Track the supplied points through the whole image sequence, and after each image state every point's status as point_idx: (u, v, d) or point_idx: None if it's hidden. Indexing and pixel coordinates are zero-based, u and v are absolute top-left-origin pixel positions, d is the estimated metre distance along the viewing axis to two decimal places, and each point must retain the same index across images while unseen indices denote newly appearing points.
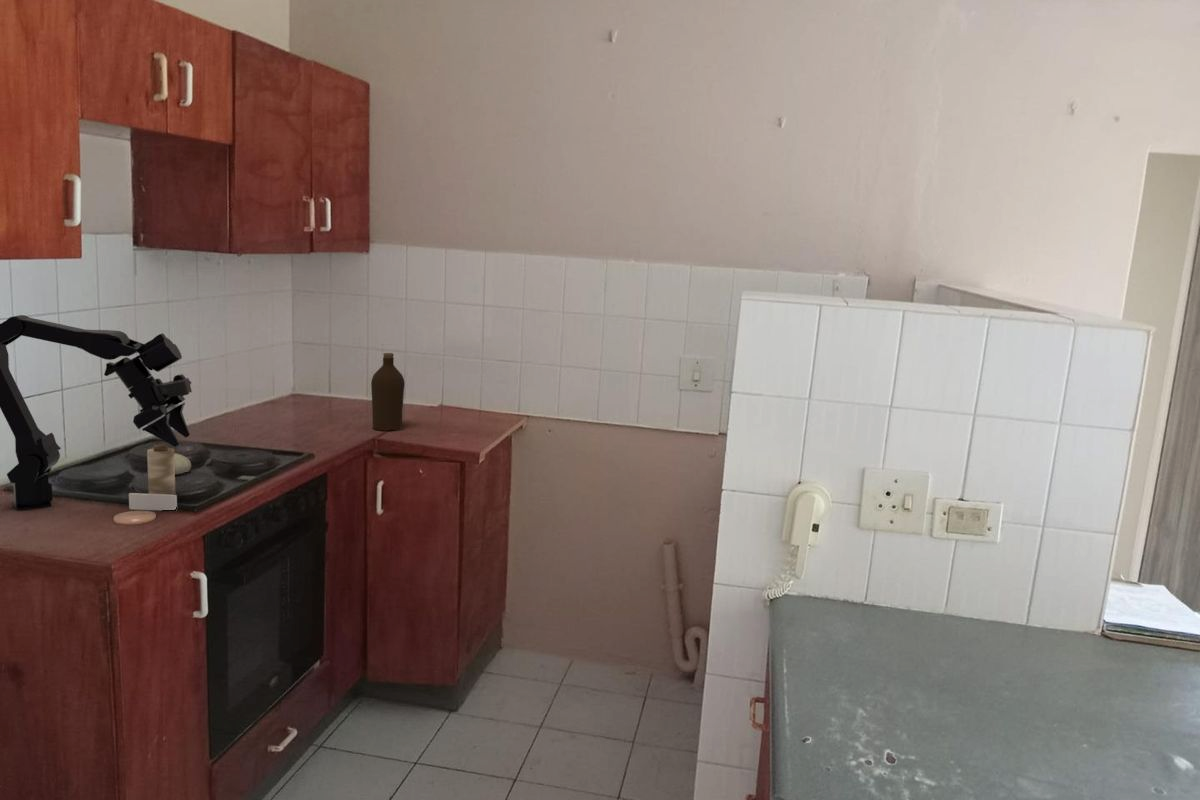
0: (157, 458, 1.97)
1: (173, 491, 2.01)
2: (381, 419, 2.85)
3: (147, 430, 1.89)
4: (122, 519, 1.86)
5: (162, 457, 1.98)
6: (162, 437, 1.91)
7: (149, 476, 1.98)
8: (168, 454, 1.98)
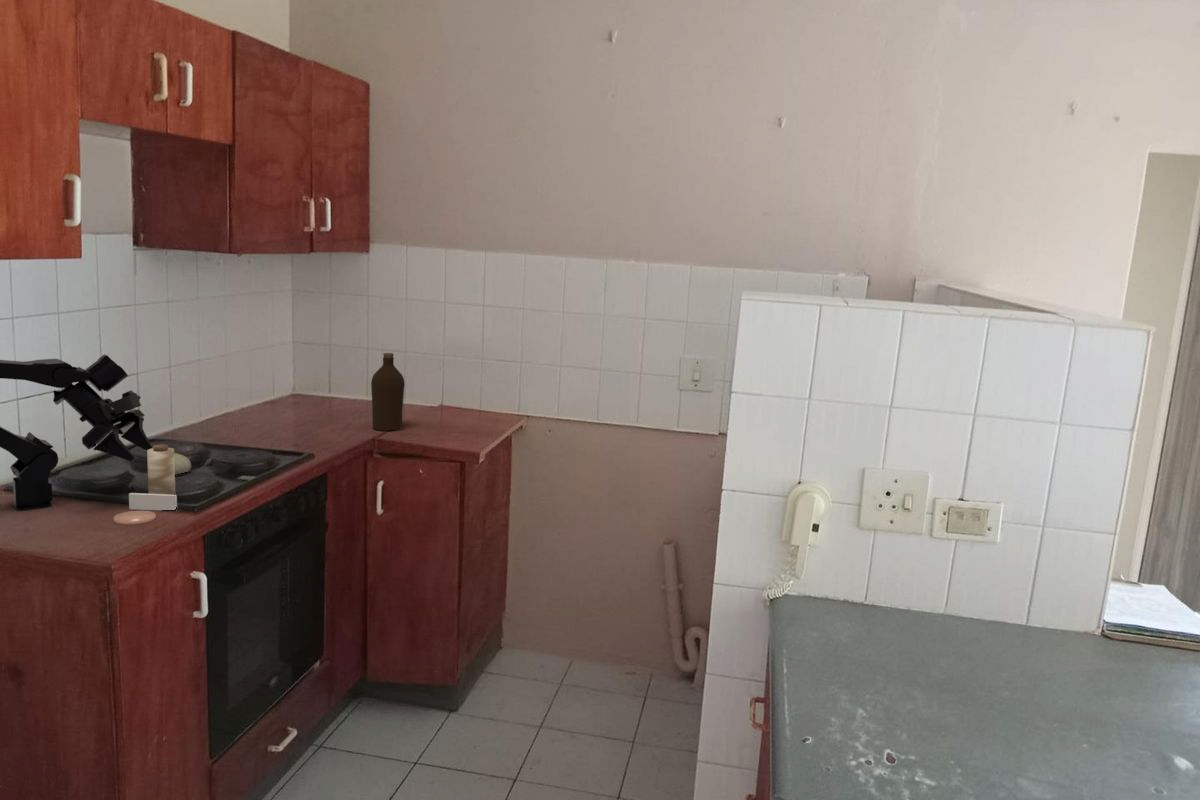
0: (157, 458, 1.97)
1: (173, 491, 2.01)
2: (381, 419, 2.85)
3: (99, 449, 1.92)
4: (122, 519, 1.86)
5: (162, 457, 1.98)
6: (116, 454, 1.94)
7: (149, 476, 1.98)
8: (168, 454, 1.98)
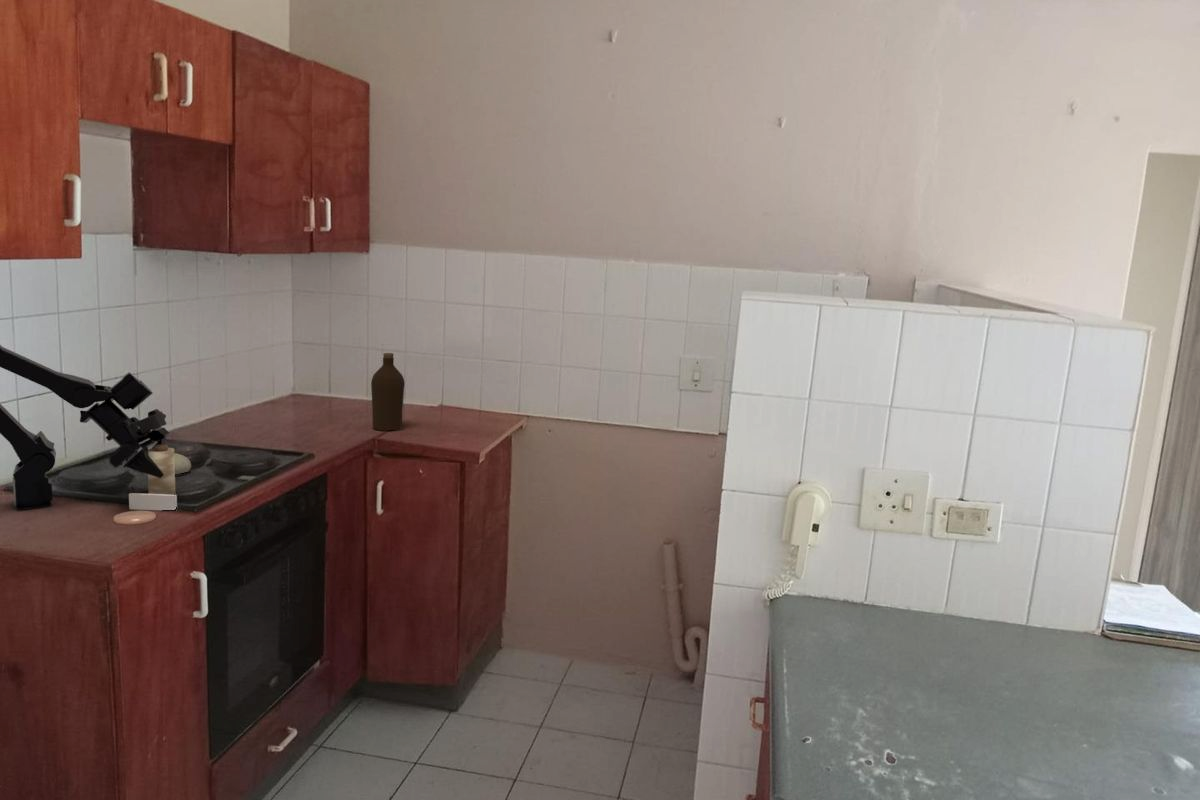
0: (157, 458, 1.97)
1: (173, 491, 2.01)
2: (381, 419, 2.85)
3: (129, 466, 1.95)
4: (122, 519, 1.86)
5: (162, 457, 1.98)
6: (145, 471, 1.96)
7: (149, 476, 1.98)
8: (168, 454, 1.98)
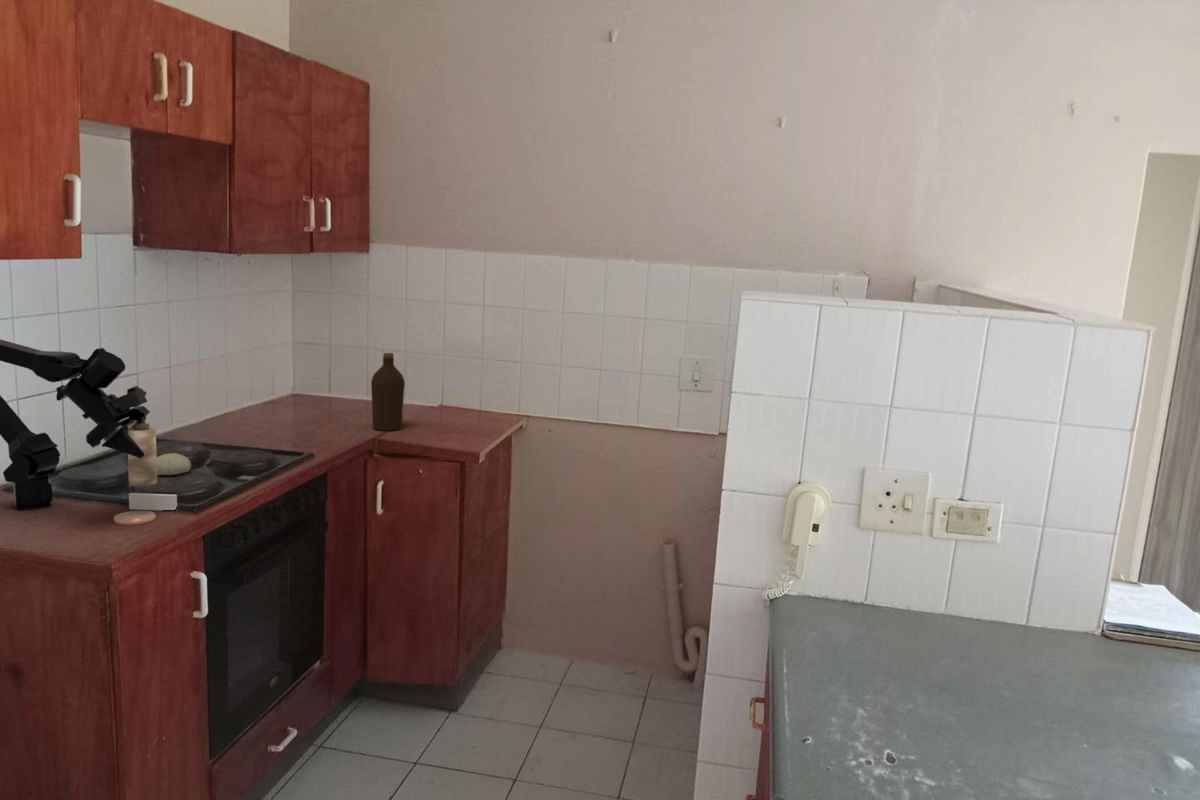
0: (138, 437, 1.87)
1: (155, 472, 1.91)
2: (381, 419, 2.85)
3: (108, 446, 1.84)
4: (122, 519, 1.86)
5: (143, 436, 1.87)
6: (125, 450, 1.86)
7: (129, 456, 1.88)
8: (150, 433, 1.88)
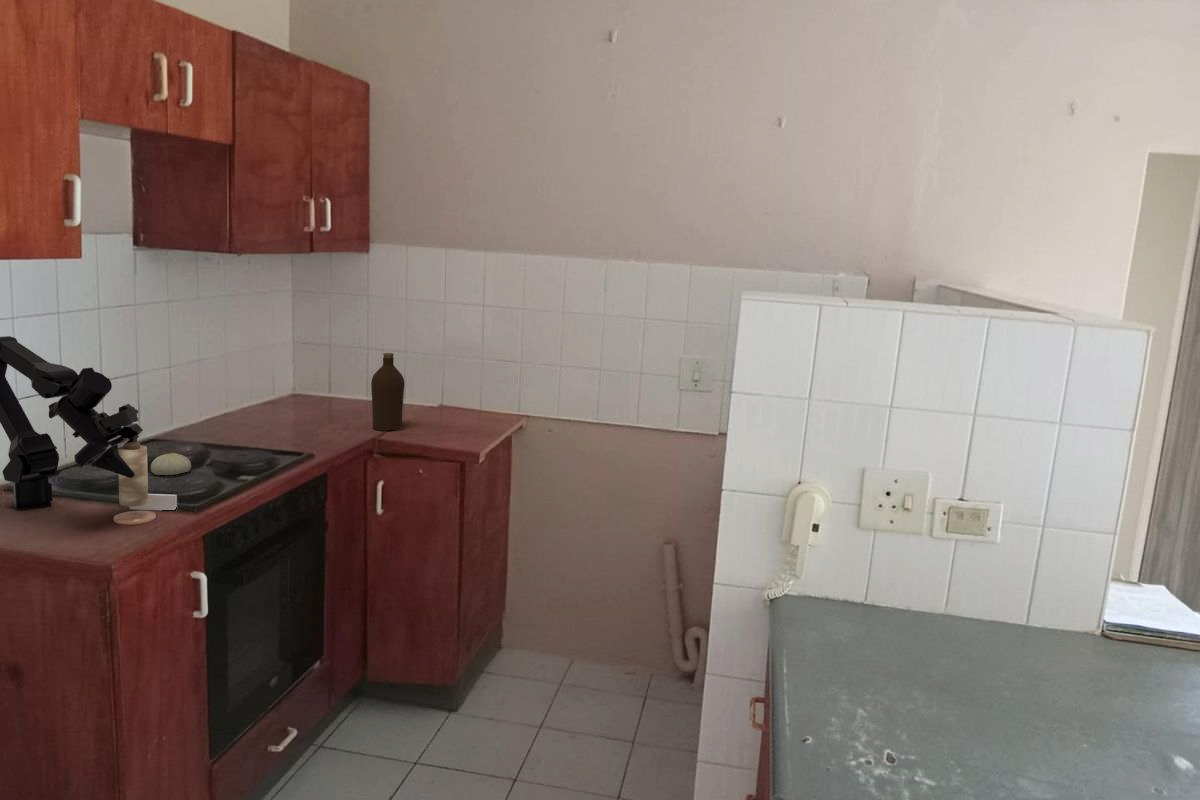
0: (128, 456, 1.83)
1: (145, 492, 1.87)
2: (381, 419, 2.85)
3: (97, 465, 1.81)
4: (122, 519, 1.86)
5: (134, 456, 1.84)
6: (115, 470, 1.82)
7: (119, 476, 1.85)
8: (140, 453, 1.85)
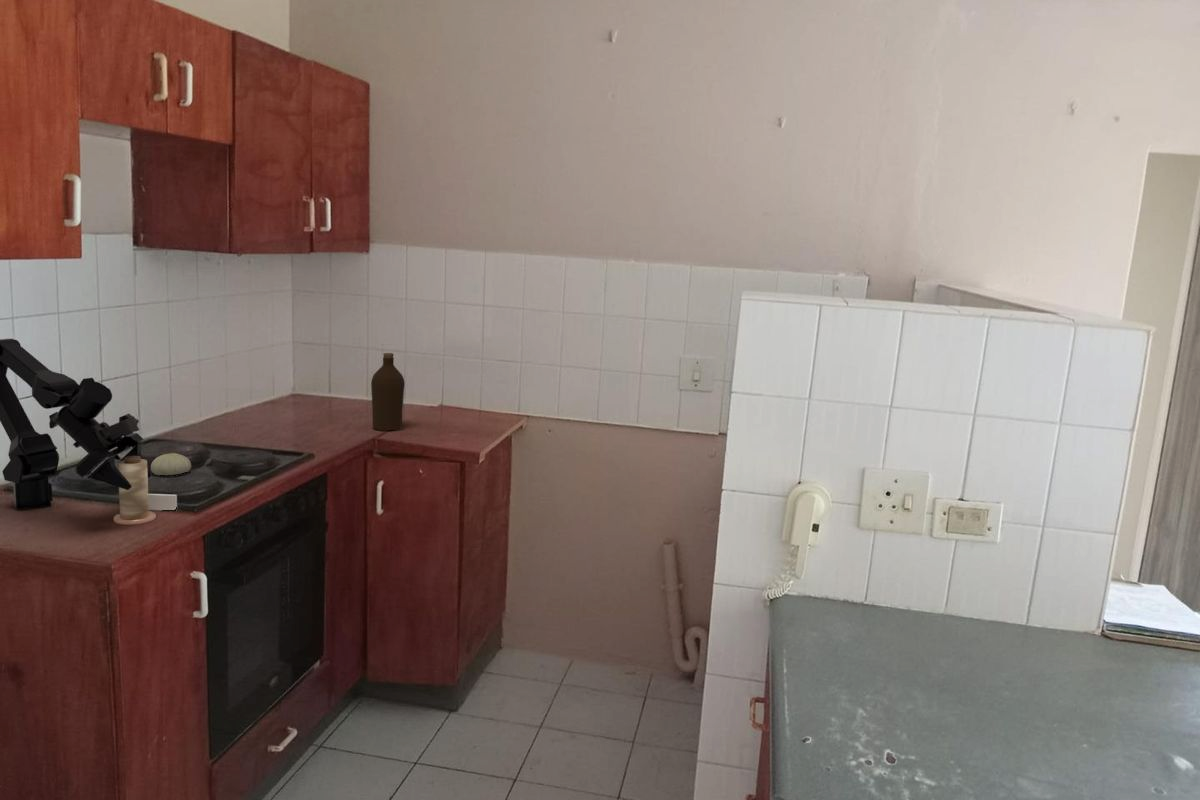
0: (128, 470, 1.84)
1: (146, 506, 1.88)
2: (381, 419, 2.85)
3: (94, 477, 1.80)
4: (122, 519, 1.86)
5: (134, 470, 1.84)
6: (112, 482, 1.81)
7: (120, 490, 1.85)
8: (141, 467, 1.85)
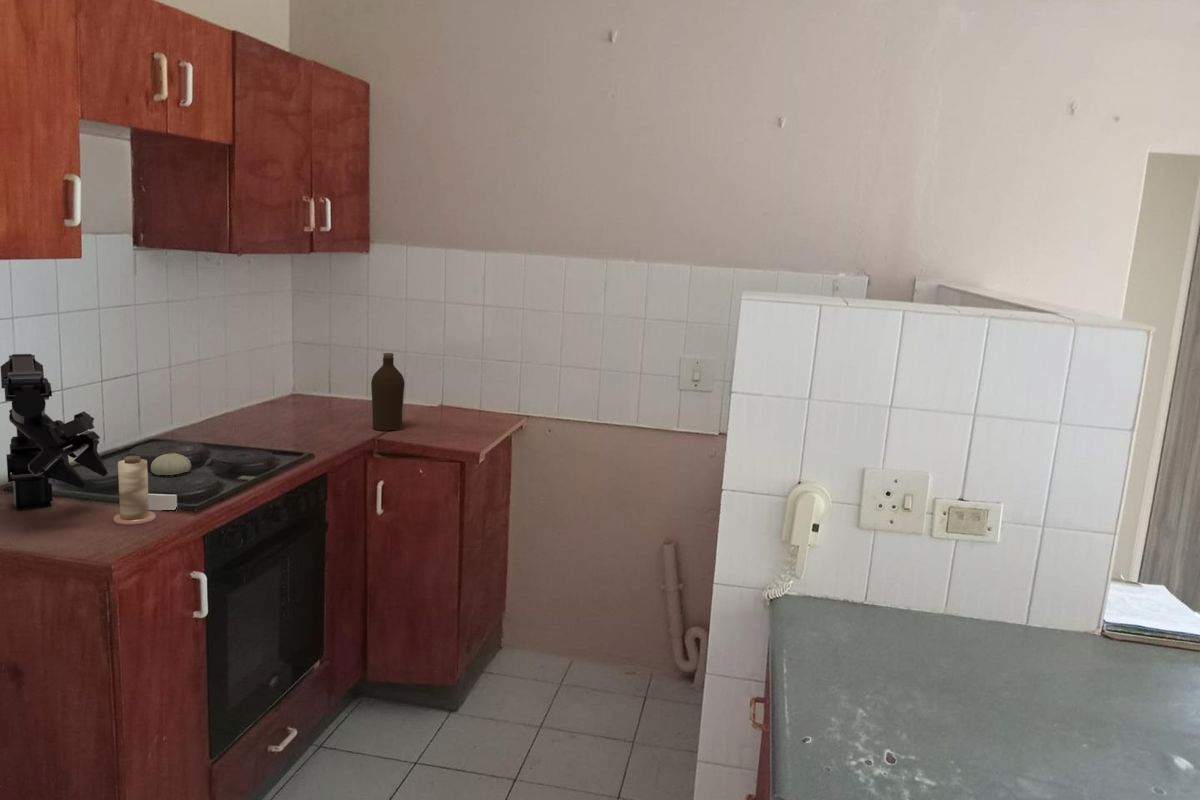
0: (128, 470, 1.84)
1: (146, 506, 1.88)
2: (381, 419, 2.85)
3: (47, 475, 1.79)
4: (122, 519, 1.86)
5: (134, 470, 1.84)
6: (66, 480, 1.81)
7: (120, 490, 1.85)
8: (141, 467, 1.85)
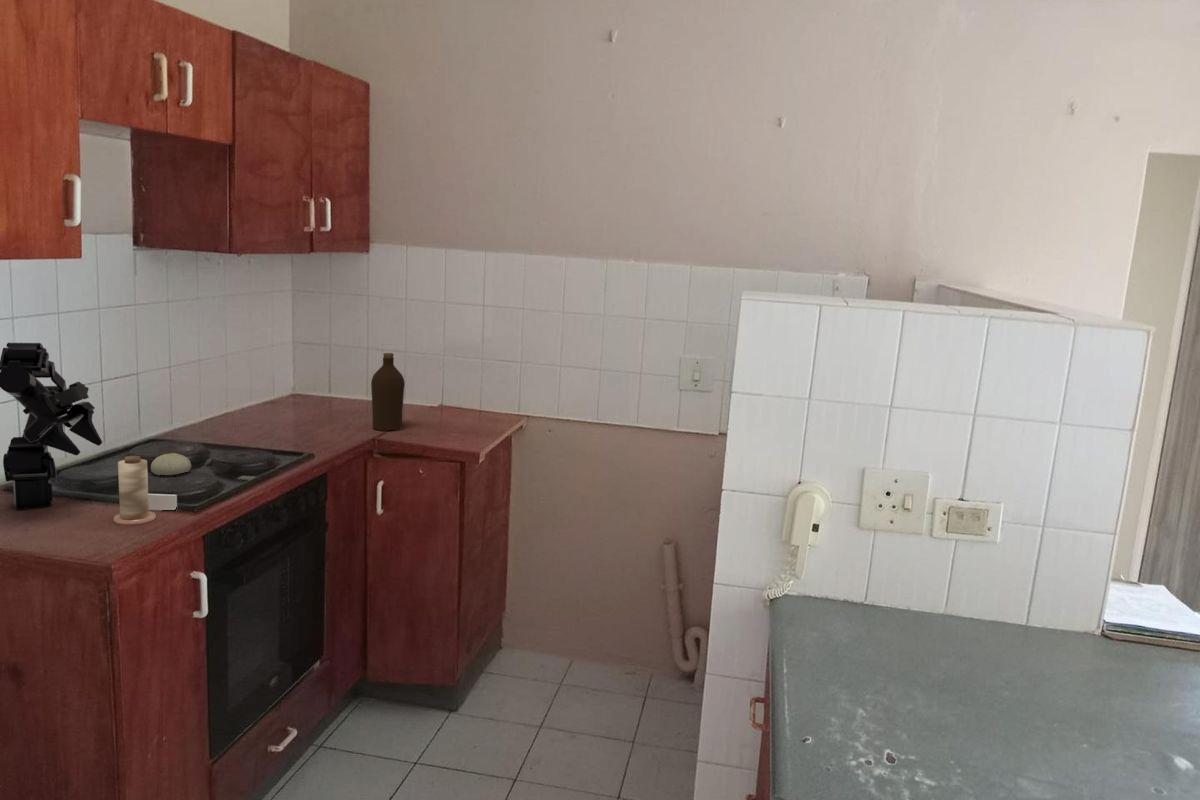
0: (128, 470, 1.84)
1: (146, 506, 1.88)
2: (381, 419, 2.85)
3: (42, 443, 1.83)
4: (122, 519, 1.86)
5: (134, 470, 1.84)
6: (60, 447, 1.85)
7: (120, 490, 1.85)
8: (141, 467, 1.85)
